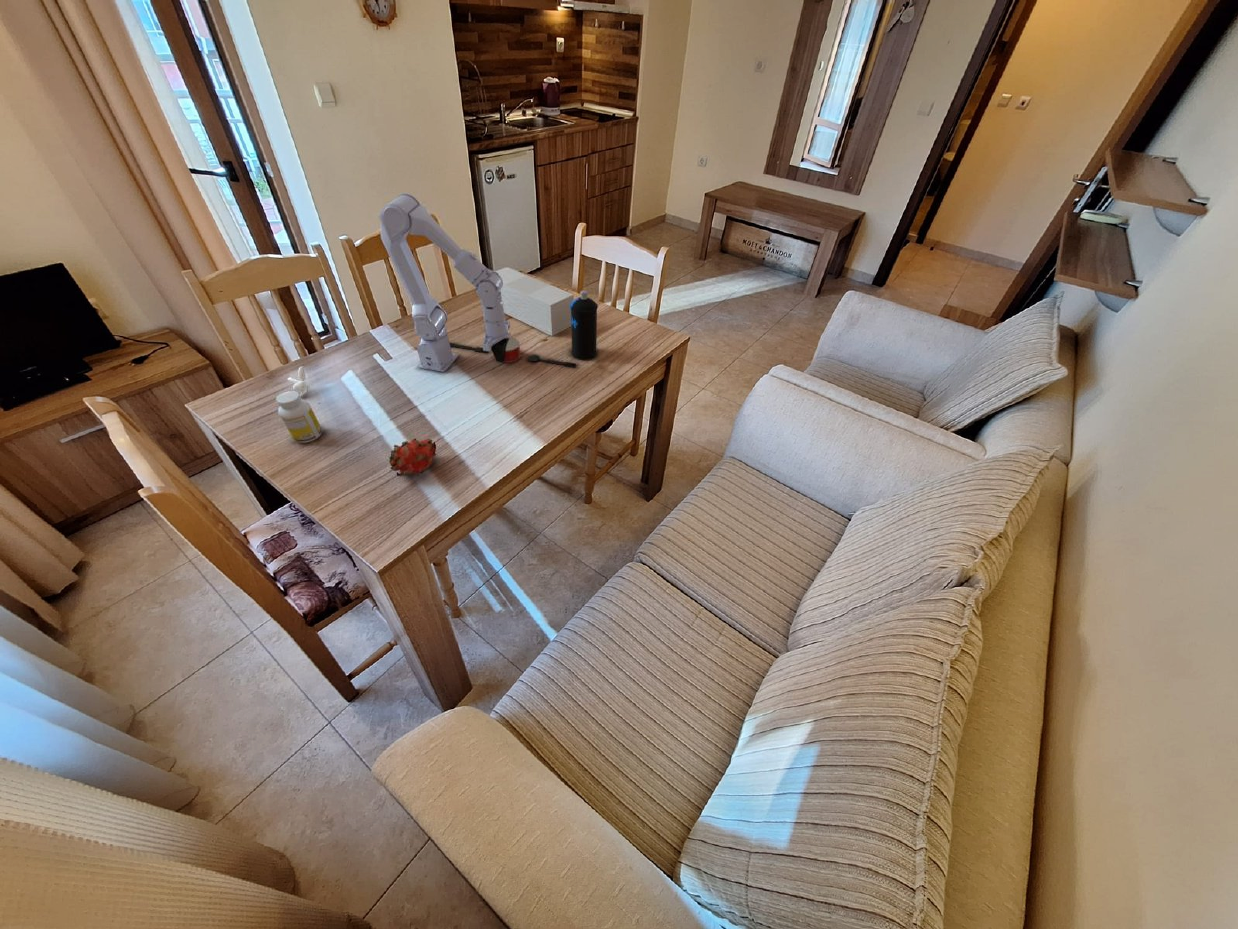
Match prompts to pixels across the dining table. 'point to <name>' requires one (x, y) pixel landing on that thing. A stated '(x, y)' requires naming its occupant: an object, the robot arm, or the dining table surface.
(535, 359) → the spoon
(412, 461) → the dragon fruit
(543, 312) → the long white block
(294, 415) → the pill bottle
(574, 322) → the aerosol can
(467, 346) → the fork
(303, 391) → the rabbit figurine
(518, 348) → the tin can
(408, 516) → the dining table surface
